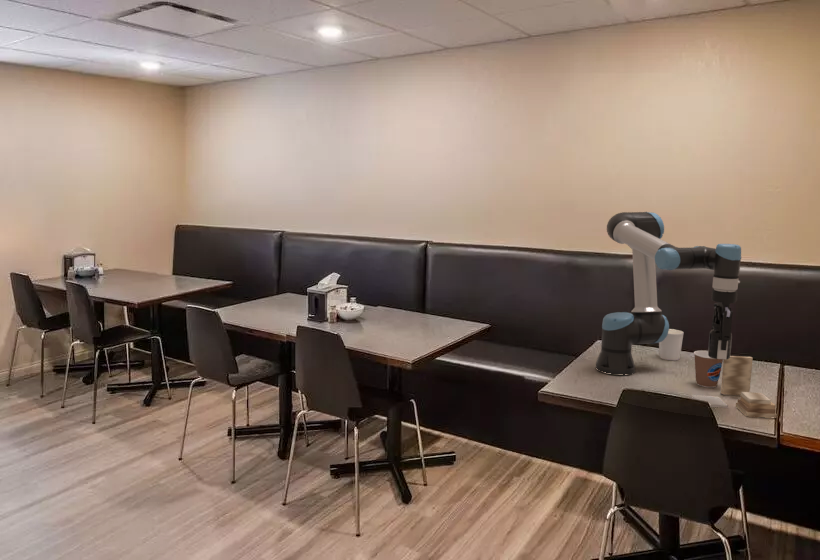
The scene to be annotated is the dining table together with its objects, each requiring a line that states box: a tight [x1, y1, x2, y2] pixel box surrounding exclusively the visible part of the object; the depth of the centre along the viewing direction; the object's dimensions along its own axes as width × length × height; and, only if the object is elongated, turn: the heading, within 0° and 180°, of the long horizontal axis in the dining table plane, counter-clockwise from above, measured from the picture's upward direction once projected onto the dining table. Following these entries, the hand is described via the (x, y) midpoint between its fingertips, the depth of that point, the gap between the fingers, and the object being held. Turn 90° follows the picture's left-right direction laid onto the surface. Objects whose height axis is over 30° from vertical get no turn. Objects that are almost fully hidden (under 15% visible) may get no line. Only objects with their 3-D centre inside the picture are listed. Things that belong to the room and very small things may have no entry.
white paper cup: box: [658, 328, 684, 361], centre depth 254 cm, size 10×10×12 cm
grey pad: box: [690, 394, 729, 409], centre depth 201 cm, size 9×9×1 cm
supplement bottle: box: [707, 322, 733, 361], centre depth 198 cm, size 7×7×12 cm
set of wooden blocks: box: [720, 355, 778, 419], centre depth 197 cm, size 9×23×14 cm, turn 171°
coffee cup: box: [693, 350, 724, 389], centre depth 218 cm, size 10×10×12 cm
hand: (718, 355), depth 199 cm, fingers closed on supplement bottle, 7 cm apart
